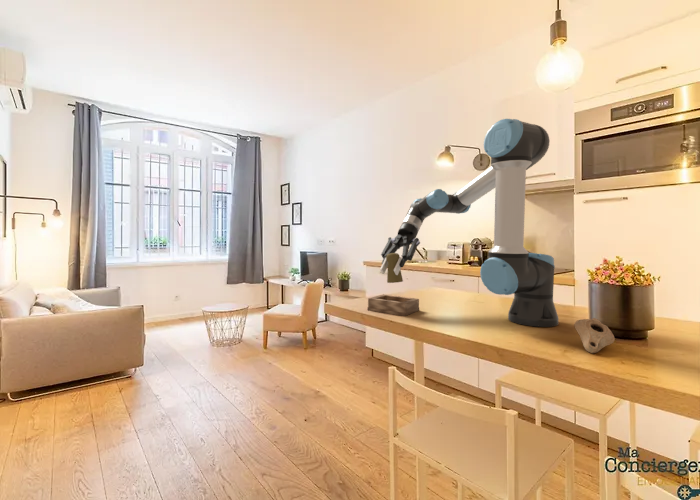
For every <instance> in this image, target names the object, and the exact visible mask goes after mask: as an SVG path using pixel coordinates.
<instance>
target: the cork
mask: <svg viewBox="0 0 700 500" xmlns="http://www.w3.org/2000/svg"><path fill="white" fill-rule="evenodd" d="M399 258H400V254H399V253H397V252H395V253H390V254H387V256H386V260H387V262H388V267H387V273H386V275H387V277H386V278H387V279H386V282H387V284H388V283H389V284H391V283H392V284H393V283H395V284H396V283H402V282H404V279H403V276H402V271H401V269H400V271H399V273H398V275H396V274H395V272H394V268H395V266H396V264H397V262H398V260H399Z"/></svg>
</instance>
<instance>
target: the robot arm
mask: <svg viewBox="0 0 700 500" xmlns="http://www.w3.org/2000/svg"><path fill="white" fill-rule="evenodd" d="M549 147H550V136H549V133H548V132H547V130H546V129H545V128H544V127H542V126H541V125H537V124H534V123H529V122H527V121H522V120H519V119H516V118H503V119H500V120H498V121H495V123H494V124H492V126H491V127H490V129H488V130H487V132H486V133H485V136H484V139H483V149H484V152H485V153H486V154H487V156H489V157H490V166H489V167H488V168H486V169H485V170H484V171H483V172H481V173H480V174H479V175H478V176H476V177H475V178H473V179H472V180H471V181H469V182H468V183H467V184H465V185H464V186H463V187H461V188H459V190H457V191H456V192H454V193H452V194H448V193H447V192H446V191H445V190H442V188H436V189H435V190H432V191H430V192H429V193H428V194H427V195H425V196H424V197H422V198H421V197H420V198H416V199H414V200H413V202H412V203H411V204H410V207H409V209H408V211H407V213H406V215H405V216H404V219H403V221H402V223H401V225H400V227H399V229H398V231H397V234H396V235H395V236H394V237H393V238H392V237H388V239H387V242H386V245H385V246H384V248H383V250H382V252H381V254H380V256H381V257H382V261H381V265H380V268H379V270H380V272H381V274H384V275H385V272H386V270H388V262H387V260H386V256H387V254H390V253H397V251H398V250H400V249H401V248H402V247H403V248H402V252H401V253H402V255H401V257H400V258H399V260H398V262H397V264H396V266H395V268H394V272H395V274H396V275H398V273H399V271H400V270H401V269H402V268H404V266H405V264H406V262H407V261H413V258H414V255H415V254H416V251H417V247H418V246H419V245H420V244H421V240H420V238H419V237H418V233H419V232H420V229H421V227H422V225H423V222H424V221H425V220H426V218H428V217H430V216H432V215H433V214H435V213H445V214H446V213H448V214H465V213H467V212H469V210H470V208H471V206H472V204H473V203H475V202H476V201H477V200H479V199H481V198H483V196H485V195H487V194H488V193H490V192H492V190H494V189H495V190H494V191H495V193H494V231H493V246H492V247H491V248H490V249H489V250H488V257H487V259H485V260H484V262H483V263H482V264H481V266H480V270H479V271H480V279H481V282H482V284H483V285H484V286H485V287H486V289H487V290H488V291H489V292H490V293H493V294H496V295H501V296H502V295H503V296H504V295H505V296H509V295H513V294H514V296H513V297H514V298H513V299H512V303H511V304H510V307H509V310H508V314H507V317H508V318H507V319H508V321H510V322H512V323H514V324H515V323H516V324H517V325H518V324H519V325H522V326H523V325H524V326H530V327H538V328H539V327H541V328H543V327H544V328H545V327H546V328H548V327H549V328H550V327H551V328H552V327H556V326H558V325H559V315H558V312H557V309H556V306H555V303H554V302H555V301H554V284H555V283H554V281H555V268H556V267H555V266H556V265H555V260H554V257H553V256H552V255H549V254H545V253H544V254H543V253H537V252H529V251H528V250H527V249H526V248H525V246H524V243H525V241H524V239H525V210H526V208H525V206H526V204H525V203H526V184H527V183H526V176H527V170H528V169H531V168H532V167H533V166H535V165H536V164H538V162H540V161H541V160H542V159H543V157H544V156H545V155H546V154H547V152H548V150H549Z"/></svg>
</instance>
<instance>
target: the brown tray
mask: <svg viewBox="0 0 700 500" xmlns="http://www.w3.org/2000/svg"><path fill="white" fill-rule="evenodd" d="M367 305H368V306H367V311H371V312H378V313H383V314H390V315H395V316H403V317H406V316H408V315H411V314H413V313H417V312H418V311H420V299H419V298H414V297H405V296H401V295H400V296H399V295H398V296H397V295H392V294H384V293H383V294H380V295H376V296H372V297H369V298H368V299H367Z"/></svg>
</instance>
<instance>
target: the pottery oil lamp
mask: <svg viewBox="0 0 700 500" xmlns="http://www.w3.org/2000/svg"><path fill="white" fill-rule="evenodd" d="M573 325H574V329H575V330H576V332H577V334H578V335H579V337H580V340H581V342H582V346H583V347H584V349H585V351H587V352H588V353H591V354H595V353H596V354H597V353H598V352H599V351H601V350H602V349H603V348H605V347H606V346H609V345H611V344H613V343H614V342H615V341H616V340H615V336H614V334H613V331H612V330H611V329H610V328H609V327H608V325H605V324H604V323H602V322H601V321H600V320H599V319H597V318H595V317H593V318H591V319H590V318H587V319H586V318H584V319H578V320H576V321H575V322H574V324H573Z"/></svg>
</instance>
